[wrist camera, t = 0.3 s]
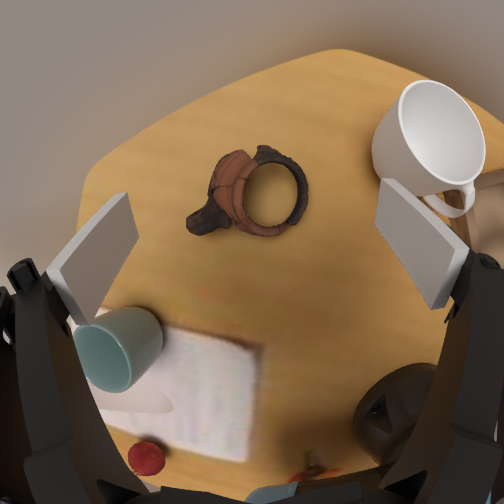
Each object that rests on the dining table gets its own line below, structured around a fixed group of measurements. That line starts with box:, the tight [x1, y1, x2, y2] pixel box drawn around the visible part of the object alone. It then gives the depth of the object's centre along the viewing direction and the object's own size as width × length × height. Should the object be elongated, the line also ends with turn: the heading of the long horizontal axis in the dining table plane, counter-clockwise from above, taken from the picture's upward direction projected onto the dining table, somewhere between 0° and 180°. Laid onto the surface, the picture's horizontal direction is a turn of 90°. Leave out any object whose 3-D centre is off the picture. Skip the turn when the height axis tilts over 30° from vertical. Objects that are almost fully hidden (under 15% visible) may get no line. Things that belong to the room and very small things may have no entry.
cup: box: [73, 307, 163, 393], centre depth 27 cm, size 8×8×10 cm
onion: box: [128, 442, 165, 476], centre depth 30 cm, size 6×6×8 cm
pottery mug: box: [186, 145, 308, 237], centre depth 27 cm, size 12×10×8 cm
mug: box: [371, 80, 486, 218], centre depth 21 cm, size 12×9×12 cm
